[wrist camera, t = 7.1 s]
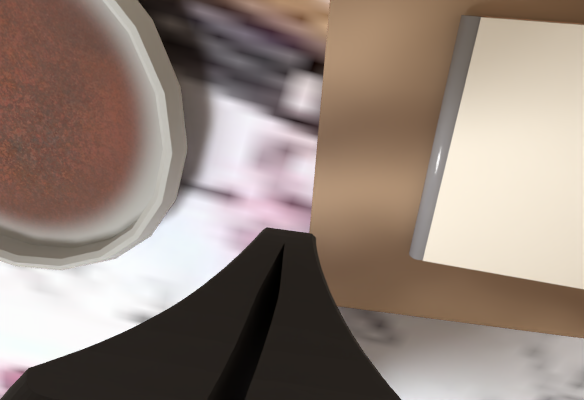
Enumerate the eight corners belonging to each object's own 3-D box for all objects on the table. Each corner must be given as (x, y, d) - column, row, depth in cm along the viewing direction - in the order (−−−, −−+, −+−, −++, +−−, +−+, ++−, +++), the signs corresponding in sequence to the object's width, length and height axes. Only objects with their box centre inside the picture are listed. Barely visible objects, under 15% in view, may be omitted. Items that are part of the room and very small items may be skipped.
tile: (408, 258, 19) (408, 248, 20) (622, 296, 18) (614, 284, 18) (462, 16, 15) (460, 14, 15) (758, 38, 13) (741, 35, 14)
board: (618, 326, 22) (631, 344, 21) (305, 287, 23) (303, 301, 22) (851, -101, 14) (893, -108, 12) (342, -123, 15) (341, -131, 14)
